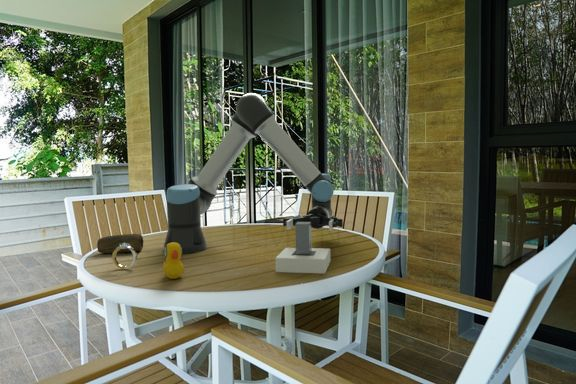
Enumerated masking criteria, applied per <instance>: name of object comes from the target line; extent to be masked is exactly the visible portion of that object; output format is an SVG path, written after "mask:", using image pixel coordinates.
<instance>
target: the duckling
mask: <svg viewBox="0 0 576 384" xmlns="http://www.w3.org/2000/svg"><path fill="white" fill-rule="evenodd" d="M163 252H164V257H165V261H163V266H162V267H163V269H162V271H163V275H164V276H166V277H167V278H168V279H170V280H176V279H179V278H181V276H182V275H183V274H184V273H185V266H184V264H183V263H182V261H181V258H182V254H183V253H182V248H181V246H180V244H178V243H176V242H172V243H169V244H167V245H166V247H165V251H164V250H163Z"/></svg>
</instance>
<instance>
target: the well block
mask: <svg viewBox="0 0 576 384" xmlns="http://www.w3.org/2000/svg"><path fill="white" fill-rule="evenodd" d="M274 262H275V273H298V274H299V273H301V274H326V272H327V269H328V268H329V265H330V264H331V248H324V247H323V248H319V247H316V248H315V247H314V248H313V247H312V256H299V255H296V247H285V248H284V249H283V250H282V251H281V252H280V253H279V254H278V255H277V256H275V261H274ZM329 263H330V264H329Z"/></svg>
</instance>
